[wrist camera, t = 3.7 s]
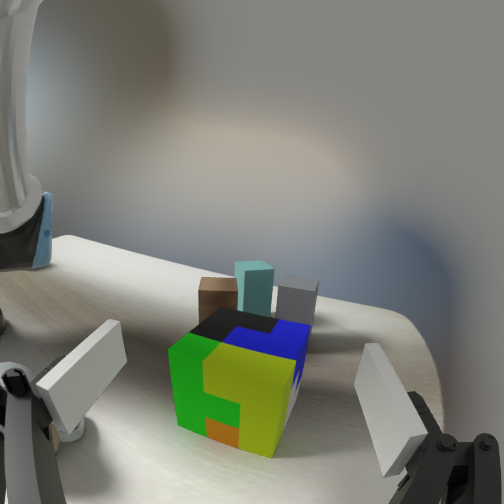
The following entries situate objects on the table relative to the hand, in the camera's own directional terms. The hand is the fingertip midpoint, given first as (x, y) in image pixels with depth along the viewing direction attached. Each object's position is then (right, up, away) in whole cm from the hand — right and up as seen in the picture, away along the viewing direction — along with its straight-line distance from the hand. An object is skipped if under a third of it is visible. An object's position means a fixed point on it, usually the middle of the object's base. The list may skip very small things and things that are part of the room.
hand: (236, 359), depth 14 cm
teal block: (+1, -6, +36) cm, 36 cm away
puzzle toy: (0, -12, +13) cm, 18 cm away
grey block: (+7, -9, +28) cm, 30 cm away
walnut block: (-4, -8, +26) cm, 28 cm away
